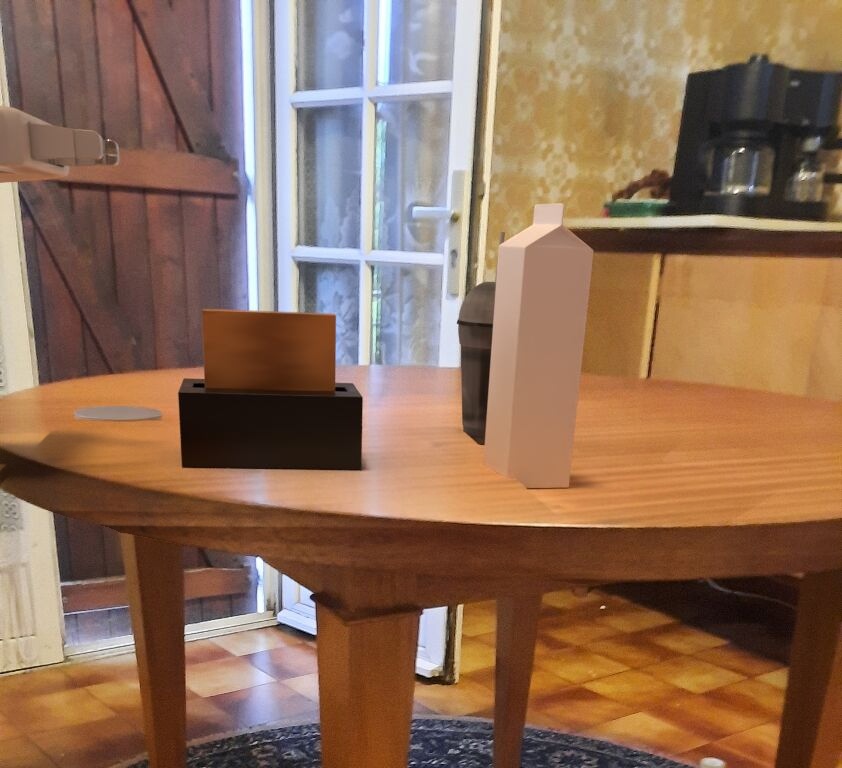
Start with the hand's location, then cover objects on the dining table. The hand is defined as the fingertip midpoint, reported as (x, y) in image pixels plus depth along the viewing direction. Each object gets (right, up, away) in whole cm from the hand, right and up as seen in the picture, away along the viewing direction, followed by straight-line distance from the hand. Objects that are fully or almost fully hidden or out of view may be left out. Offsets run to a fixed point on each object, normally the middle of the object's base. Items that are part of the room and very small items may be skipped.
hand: (110, 149), depth 82 cm
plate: (-8, -12, +31) cm, 34 cm away
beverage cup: (+31, -13, +32) cm, 46 cm away
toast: (+11, -20, +12) cm, 26 cm away
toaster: (+11, -21, +13) cm, 27 cm away
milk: (+33, -22, +13) cm, 42 cm away
